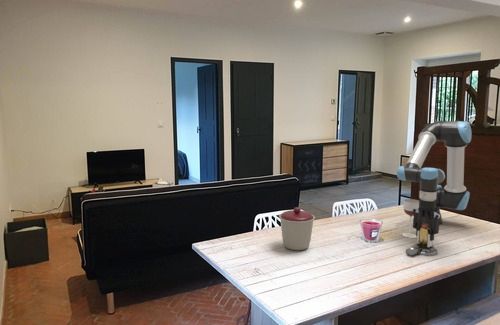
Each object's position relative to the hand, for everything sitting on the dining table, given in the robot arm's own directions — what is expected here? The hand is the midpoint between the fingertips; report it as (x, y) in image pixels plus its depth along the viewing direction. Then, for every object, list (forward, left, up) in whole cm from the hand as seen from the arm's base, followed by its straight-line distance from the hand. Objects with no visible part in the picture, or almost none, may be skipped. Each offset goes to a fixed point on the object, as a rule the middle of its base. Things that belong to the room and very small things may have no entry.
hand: (424, 244), depth 184 cm
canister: (+51, -38, -4) cm, 64 cm away
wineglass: (-14, -18, -4) cm, 23 cm away
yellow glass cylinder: (0, 0, 0) cm, 0 cm away
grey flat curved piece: (+3, 0, -3) cm, 5 cm away
